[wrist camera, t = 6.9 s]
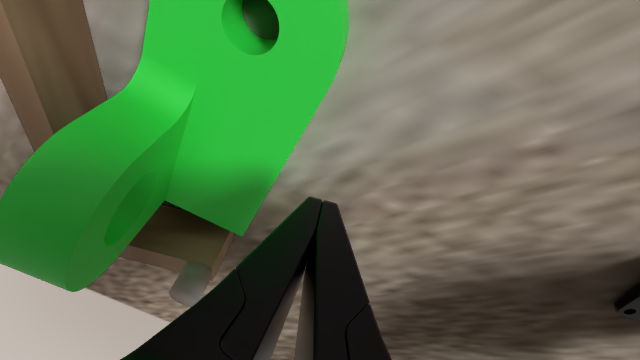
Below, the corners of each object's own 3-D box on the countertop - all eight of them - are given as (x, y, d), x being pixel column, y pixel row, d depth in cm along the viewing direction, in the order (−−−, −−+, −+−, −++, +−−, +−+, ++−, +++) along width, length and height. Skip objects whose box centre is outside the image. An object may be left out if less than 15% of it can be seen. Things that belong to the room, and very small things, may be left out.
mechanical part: (255, 209, 18) (181, 364, 11) (148, 156, 16) (2, 296, 10) (384, -17, 10) (377, 73, 4) (208, -135, 9) (-165, -262, 3)
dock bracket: (246, -229, 8) (132, -352, 4) (234, 238, 19) (199, 308, 15) (-37, -296, 8) (-369, -469, 4) (116, 207, 19) (54, 270, 16)
